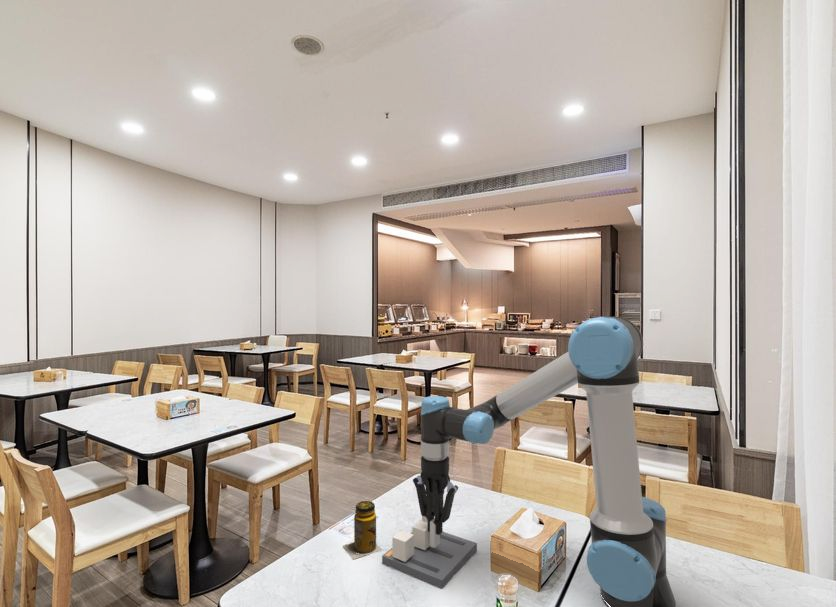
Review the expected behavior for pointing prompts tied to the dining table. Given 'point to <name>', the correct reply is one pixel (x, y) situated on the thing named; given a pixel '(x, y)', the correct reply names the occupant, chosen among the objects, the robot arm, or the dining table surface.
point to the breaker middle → (421, 535)
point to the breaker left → (403, 545)
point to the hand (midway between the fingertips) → (434, 544)
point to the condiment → (363, 531)
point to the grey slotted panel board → (435, 560)
